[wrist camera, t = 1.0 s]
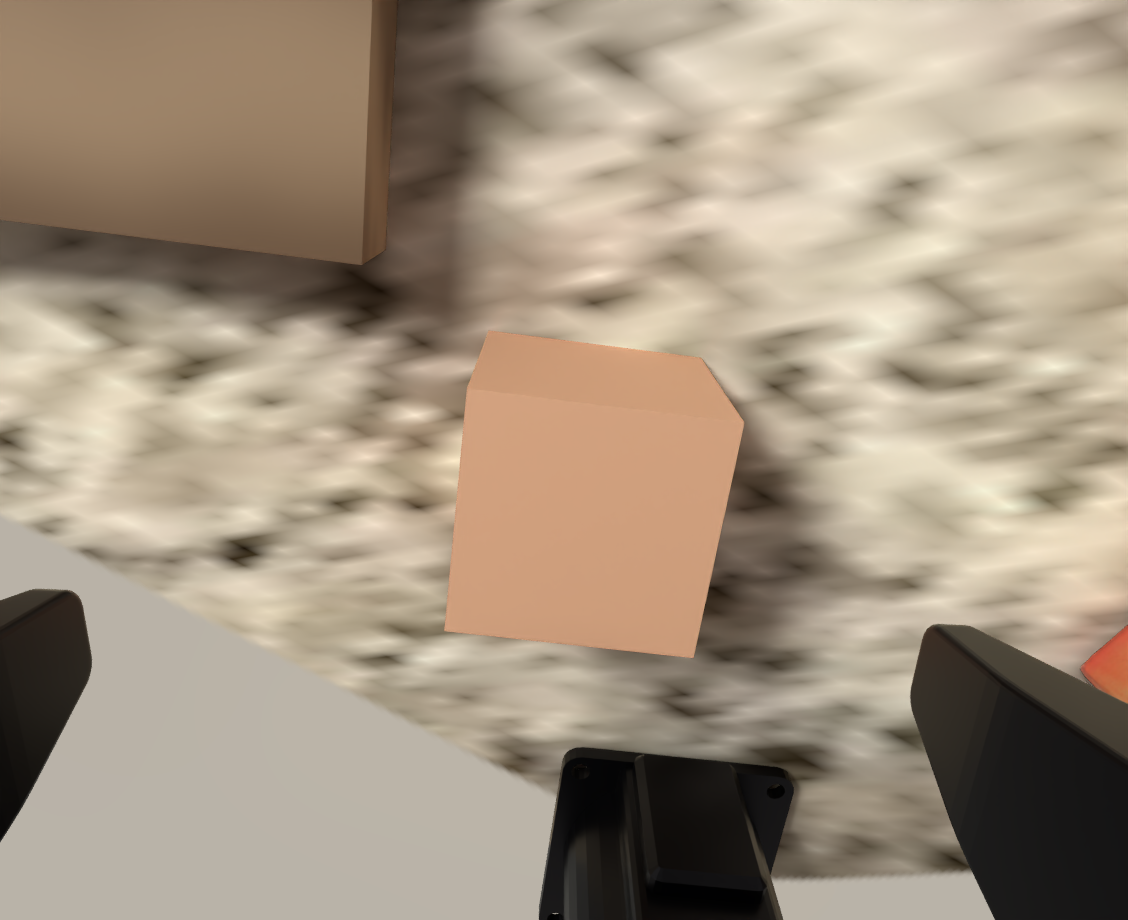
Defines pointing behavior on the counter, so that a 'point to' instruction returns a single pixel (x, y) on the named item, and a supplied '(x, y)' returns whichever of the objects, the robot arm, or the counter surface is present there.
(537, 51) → the counter surface
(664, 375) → the cube
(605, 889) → the robot arm
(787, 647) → the counter surface
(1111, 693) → the cracker box
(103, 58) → the base slab
